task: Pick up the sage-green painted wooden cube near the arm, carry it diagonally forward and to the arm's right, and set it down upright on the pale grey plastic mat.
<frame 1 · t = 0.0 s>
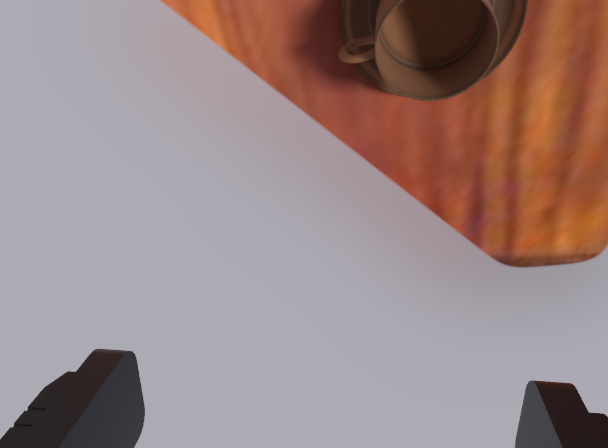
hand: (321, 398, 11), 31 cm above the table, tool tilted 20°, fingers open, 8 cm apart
cup and saucer: (429, 5, 36), on the table
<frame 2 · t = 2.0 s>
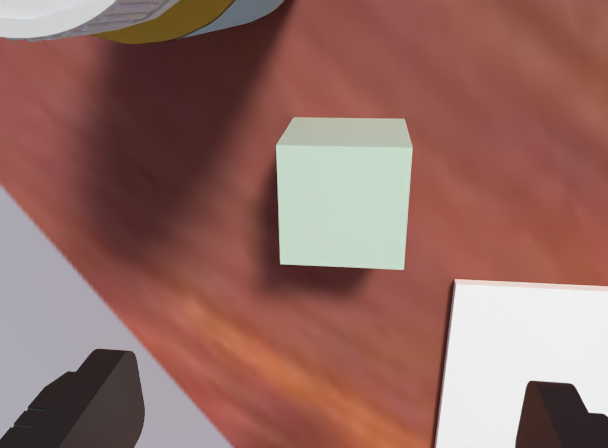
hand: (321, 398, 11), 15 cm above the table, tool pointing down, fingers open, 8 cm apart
sage cube: (347, 170, 25), on the table
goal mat: (565, 390, 28), on the table
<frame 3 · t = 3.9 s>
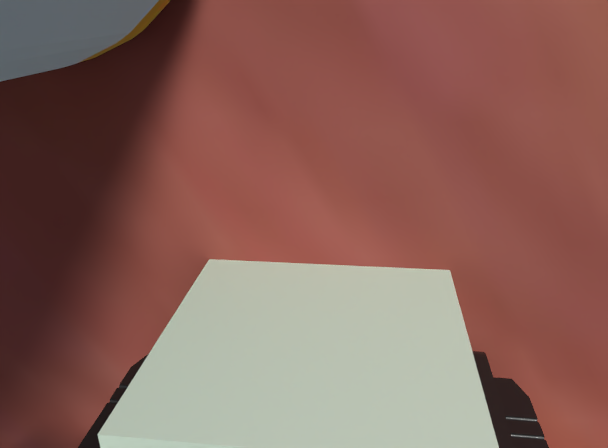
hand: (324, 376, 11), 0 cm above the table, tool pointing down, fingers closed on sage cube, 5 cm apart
sage cube: (326, 360, 12), on the table, touching gripper
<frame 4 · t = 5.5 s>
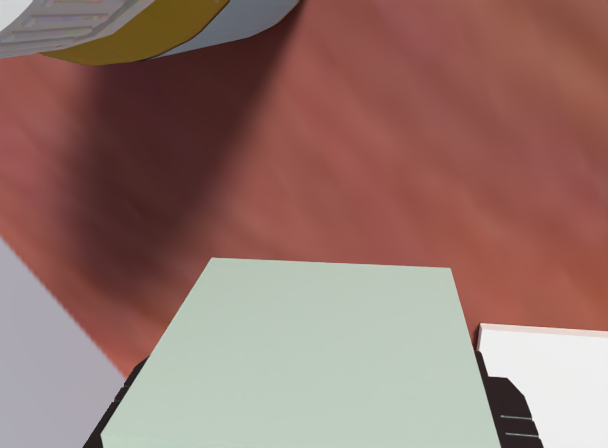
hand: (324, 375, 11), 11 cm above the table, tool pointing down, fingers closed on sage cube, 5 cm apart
sage cube: (327, 360, 12), point 11 cm above the table, touching gripper
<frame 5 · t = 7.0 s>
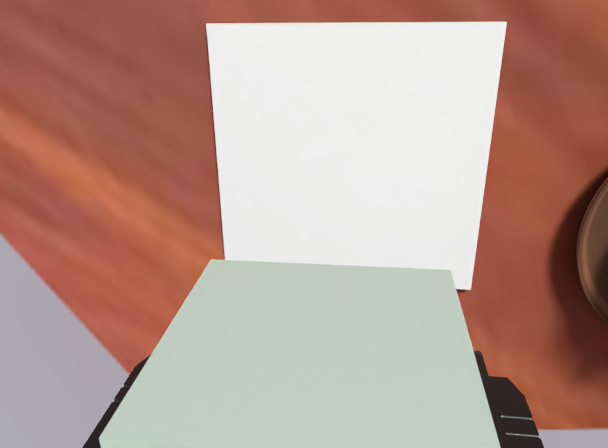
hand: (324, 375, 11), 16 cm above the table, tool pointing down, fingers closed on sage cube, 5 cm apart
sage cube: (327, 362, 12), point 15 cm above the table, touching gripper
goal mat: (348, 163, 26), on the table
when the fingers open (2 cm above the table, at t = 9.7 s): sage cube drops 1 cm, resting on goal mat.
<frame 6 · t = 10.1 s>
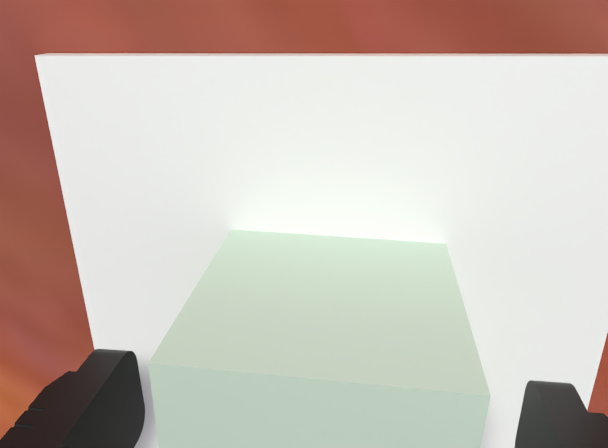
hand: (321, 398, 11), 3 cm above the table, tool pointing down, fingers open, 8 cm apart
sage cube: (332, 326, 13), resting on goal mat
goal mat: (332, 315, 14), on the table
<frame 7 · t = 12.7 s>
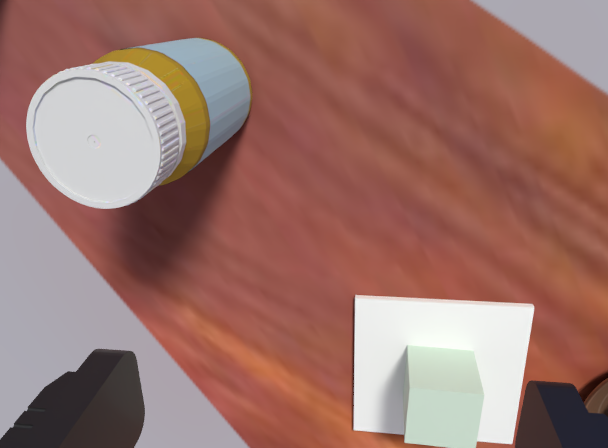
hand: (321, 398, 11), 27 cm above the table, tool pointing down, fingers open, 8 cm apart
sage cube: (437, 374, 41), resting on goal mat
bottle: (205, 90, 36), on the table
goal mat: (436, 369, 42), on the table
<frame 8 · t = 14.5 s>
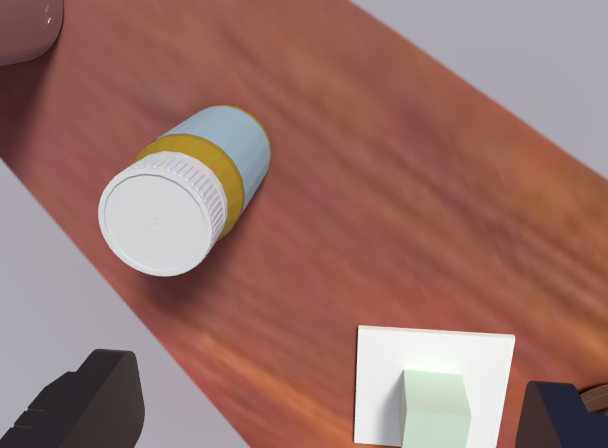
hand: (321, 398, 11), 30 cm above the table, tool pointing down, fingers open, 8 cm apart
sage cube: (429, 394, 47), resting on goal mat
bottle: (229, 147, 41), on the table
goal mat: (428, 390, 47), on the table
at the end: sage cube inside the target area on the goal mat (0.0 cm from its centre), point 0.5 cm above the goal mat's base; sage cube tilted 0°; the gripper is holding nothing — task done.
